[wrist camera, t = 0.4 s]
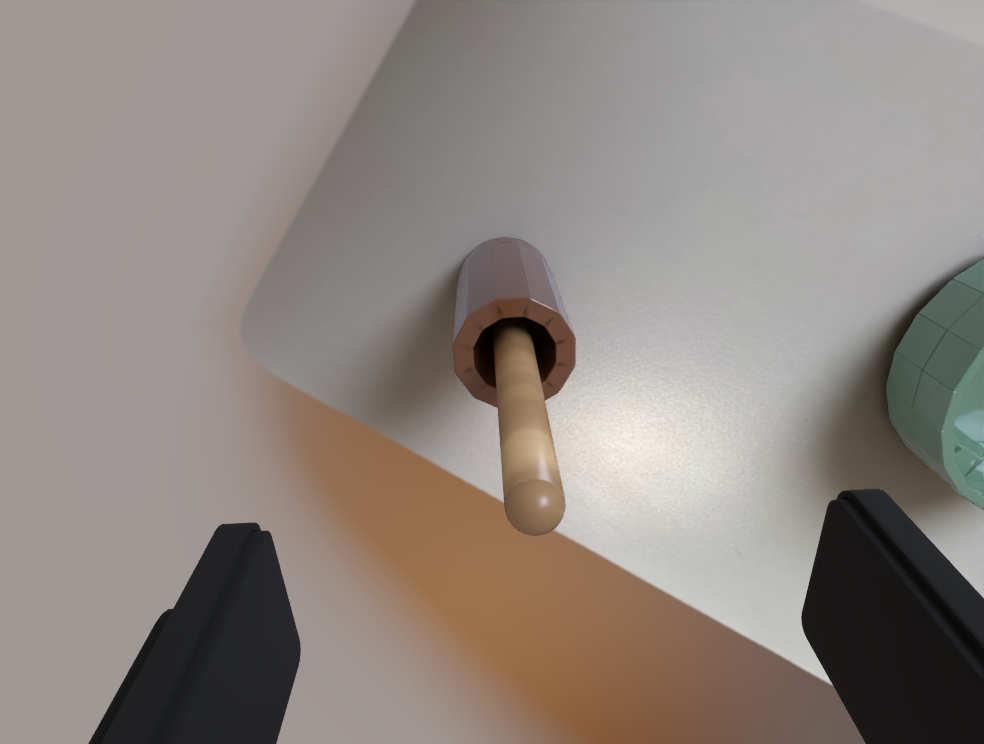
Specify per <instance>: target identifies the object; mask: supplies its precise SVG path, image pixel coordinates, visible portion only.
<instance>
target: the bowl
mask: <svg viewBox="0 0 984 744" xmlns="http://www.w3.org/2000/svg"><path fill="white" fill-rule="evenodd" d="M886 393H887V402H888V410H889V419H890V421H891V423H892V425H893V426H894V428H895V429H896V431H897V433H898V434H899V436H900V438H901V439H902V441H903V443H904V444H905V445H906V446H907V447H908V448H909V449H910V450H911V451H912V452H913V453H914V454H915V455H917V456H918V457H919V458H920V459H921V460H922V461H923V462H924V463H925V464H927V465H928V466H929V467H930V468H931V469H932V470H933V471H934V472H935V473H936V474H938V475H939V476H940V477H941V478H942V479H943V480H944V481H945V482H946V483H948V484H949V485H950V486H951V487H952V488H953V489H954V490H955V491H956V492H958V493H959V494H960V495H961V496H963V497H964V498H966V499H967V500H969V501H970V502H972V503H974V504H975V505H977V506H978V507H980V508H981V509H983V510H984V259H982V260H981V261H979V262H978V263H976V264H974V265H973V266H971V267H970V268H968V269H966V270H965V271H963V272H962V273H960V274H959V275H957V276H955V277H954V278H953V280H950V281H949V282H948V283H947V284H946V285H945V286H944V287H943V288H942V289H941V290H940V291H939V292H938V293H937V294H936V295H935V297H934V298H933V299H932V300H931V301H930V302H929V303H928V304H927V305H926V306H925V307H924V308H923V309H922V310H921V311H920V312H919V314H917V315H916V317H915V318H914V320H913V322H912V323H911V325H910V327H909V328H908V330H907V332H906V333H905V335H904V337H903V338H902V340H901V342H900V343H899V345H898V347H897V348H896V351H895V353H894V356H893V360H892V364H891V368H890V372H889V376H888V380H887V384H886Z"/></svg>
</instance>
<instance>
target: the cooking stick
mask: <svg viewBox="0 0 984 744" xmlns="http://www.w3.org/2000/svg"><path fill="white" fill-rule="evenodd" d="M492 328H493V343H494V358H495V373H496V388H497V402H498V417H499V432H500V447H501V462H502V477H503V492H504V506H505V511H506V515H507V518H508V520H509V521H510V523H511V524H512V525H513V526H514V527H515V528H516V529H517V530H518V531H521V532H522V533H524V534H527V535H534V536H536V535H537V536H538V535H543V534H546V533H548V532H550V531H552V530H553V529H555V528H556V527H557V526H558V525H559V523H560V522H561V520H562V518H563V516H564V512H565V497H564V492H563V487H562V482H561V477H560V473H559V468H558V463H557V458H556V453H555V448H554V443H553V438H552V434H551V429H550V424H549V419H548V414H547V409H546V404H545V399H544V394H543V390H542V385H541V380H540V375H539V370H538V365H537V360H536V355H535V350H534V346H533V341H532V336H531V331H530V326H529V321H528V318H526V317H512V318H502V319H500V320H498V321H497V322H495V323H493V324H492Z"/></svg>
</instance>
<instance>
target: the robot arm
mask: <svg viewBox="0 0 984 744" xmlns="http://www.w3.org/2000/svg"><path fill="white" fill-rule="evenodd" d="M801 618H802V626H803V630H804V633H805V636H806V638H807V640H808V641H809V643H810V645H811V647H812V649H813V650H814V652H815V654H816V656H817V657H818V659H819V661H820V663H821V665H822V666H823V668H824V670H825V672H826V673H827V675H828V677H829V679H830V681H831V682H832V684H833V686H834V688H835V689H836V691H837V693H838V695H839V697H840V698H841V700H842V702H843V704H844V706H845V707H846V709H847V711H848V713H849V714H850V716H851V718H852V720H853V722H854V723H855V725H856V727H857V729H858V730H859V732H860V734H861V736H862V737H863V739H864V741H865V743H866V744H984V598H983V597H982V596H981V595H980V594H979V593H978V592H977V591H976V590H975V589H974V587H973V586H972V585H971V584H970V583H969V582H968V581H967V580H966V579H965V578H964V577H963V576H962V574H961V573H960V572H959V571H958V570H957V569H956V568H955V567H954V566H953V565H952V564H951V563H950V561H949V560H948V559H947V558H946V557H945V556H944V555H943V554H942V553H941V552H940V551H939V550H938V548H937V547H936V546H935V545H934V544H933V543H932V542H931V541H930V540H929V539H928V538H927V537H926V535H925V534H924V533H923V532H922V531H921V530H920V529H919V528H918V527H917V526H916V525H915V524H914V522H913V521H912V520H911V519H910V518H909V517H908V516H907V515H906V514H905V513H904V512H903V511H902V510H901V508H900V507H899V506H898V505H897V504H896V503H895V502H894V501H893V500H892V499H891V498H890V497H889V495H888V494H886V493H885V492H884V491H883V490H880V489H864V490H846V491H842V492H841V493H840V494H839V495H838V497H837V500H832V501H831V502H830V503H829V504H828V507H827V511H826V515H825V519H824V523H823V528H822V532H821V536H820V540H819V544H818V548H817V552H816V557H815V561H814V565H813V569H812V573H811V577H810V581H809V586H808V590H807V594H806V598H805V602H804V606H803V610H802V617H801ZM300 649H301V648H300V640H299V636H298V632H297V629H296V625H295V621H294V617H293V614H292V610H291V606H290V602H289V599H288V595H287V591H286V587H285V584H284V580H283V577H282V573H281V569H280V565H279V562H278V558H277V554H276V551H275V547H274V543H273V539H272V536H271V533H270V532H269V531H261V529H260V526H259V525H258V524H257V523H237V524H222V525H220V526H219V527H218V528H217V529H216V531H215V532H214V535H213V536H212V538H211V540H210V542H209V544H208V545H207V548H206V549H205V551H204V553H203V555H202V557H201V559H200V560H199V562H198V564H197V566H196V568H195V570H194V571H193V573H192V575H191V577H190V579H189V581H188V583H187V584H186V586H185V588H184V590H183V592H182V594H181V596H180V597H179V599H178V602H177V603H176V605H175V607H174V609H168V610H167V611H166V612H164V613H163V614H162V615H161V616H160V618H159V619H158V621H157V622H156V624H155V625H154V627H153V629H152V630H151V632H150V634H149V636H148V638H147V640H146V641H145V643H144V645H143V647H142V649H141V650H140V652H139V654H138V656H137V657H136V659H135V661H134V663H133V665H132V667H131V668H130V670H129V672H128V674H127V675H126V677H125V679H124V681H123V683H122V685H121V686H120V688H119V690H118V692H117V693H116V695H115V697H114V699H113V701H112V702H111V704H110V706H109V708H108V710H107V712H106V713H105V715H104V717H103V719H102V720H101V722H100V724H99V726H98V728H97V730H96V731H95V733H94V735H93V737H92V738H91V740H90V742H89V744H276V743H277V739H278V736H279V732H280V729H281V725H282V721H283V718H284V715H285V711H286V708H287V704H288V701H289V697H290V694H291V690H292V687H293V683H294V680H295V676H296V673H297V669H298V666H299V661H300Z"/></svg>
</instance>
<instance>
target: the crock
mask: <svg viewBox="0 0 984 744" xmlns="http://www.w3.org/2000/svg"><path fill="white" fill-rule="evenodd" d="M512 317H526V318H528V321H529V326H530V331H531V336H532V341H533V346H534V350H535V355H536V360H537V365H538V370H539V375H540V380H541V385H542V390H543V394H544V399H545V400H547V399H548V398H550V397H552V396H554V395H555V394H557V393H559V391H560V390H561V389H562V387H563V385H564V384H565V382H566V381H567V379H568V377H569V376H570V374H571V372H572V371H573V369H574V367H575V363H576V338H575V335H574V332H573V329H572V326H571V324H570V321H569V318H568V315H567V312H566V310H565V307H564V304H563V301H562V299H561V296H560V293H559V290H558V287H557V285H556V282H555V279H554V276H553V274H552V272H551V270H550V269H549V267H548V264H547V262H546V260H545V258H544V257H543V255H542V254H541V253H540V252H539V251H538V250H537V249H536V248H535V247H533V246H532V245H530V244H529V243H527V242H525V241H522V240H519V239H516V238H496V239H492V240H489V241H487V242H484V243H483V244H481V245H479V246H478V247H476V248H475V249H474V250H473V251H472V252H471V253H470V254H469V255H468V256H467V258H466V259H465V261H464V263H463V265H462V267H461V270H460V274H459V278H458V281H457V294H456V307H455V321H454V334H453V355H454V367H455V373H456V375H457V376H458V378H459V379H460V380H461V382H462V383H463V384H464V386H465V387H466V388H467V390H468V391H469V392H470V393H471V395H472V396H474V398H476V399H478V400H481V401H483V402H485V403H488V404H490V405H492V406H495V407H497V408H498V402H497V388H496V373H495V358H494V343H493V328H492V324H493V323H495V322H497V321H498V320H500V319H502V318H512Z"/></svg>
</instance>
